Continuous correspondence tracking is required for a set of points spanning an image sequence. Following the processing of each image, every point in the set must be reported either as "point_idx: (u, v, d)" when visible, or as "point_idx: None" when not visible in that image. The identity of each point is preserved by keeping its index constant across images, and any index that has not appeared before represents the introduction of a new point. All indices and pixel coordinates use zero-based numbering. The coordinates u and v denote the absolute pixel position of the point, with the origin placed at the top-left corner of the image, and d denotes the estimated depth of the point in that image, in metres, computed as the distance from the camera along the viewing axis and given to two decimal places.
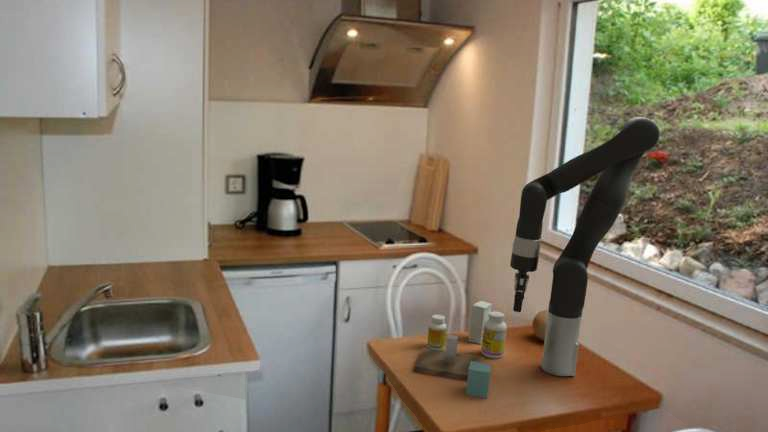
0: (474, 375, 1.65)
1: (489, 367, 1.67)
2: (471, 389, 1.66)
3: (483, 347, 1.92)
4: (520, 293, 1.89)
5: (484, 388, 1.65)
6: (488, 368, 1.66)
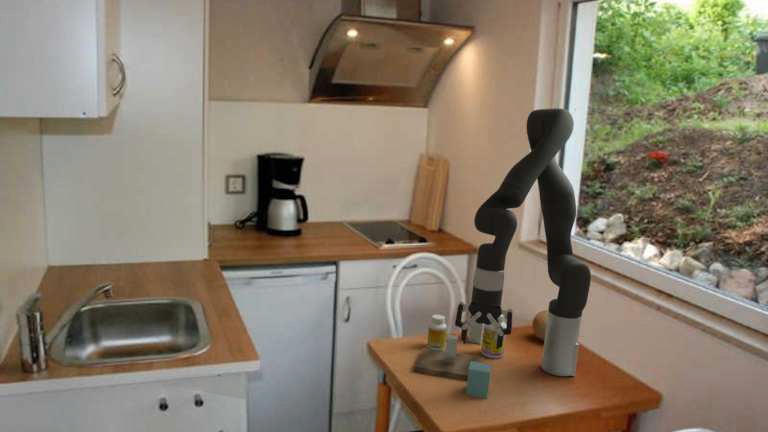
0: (474, 375, 1.65)
1: (489, 367, 1.67)
2: (471, 389, 1.66)
3: (483, 347, 1.92)
4: (467, 331, 1.67)
5: (484, 388, 1.65)
6: (488, 368, 1.66)
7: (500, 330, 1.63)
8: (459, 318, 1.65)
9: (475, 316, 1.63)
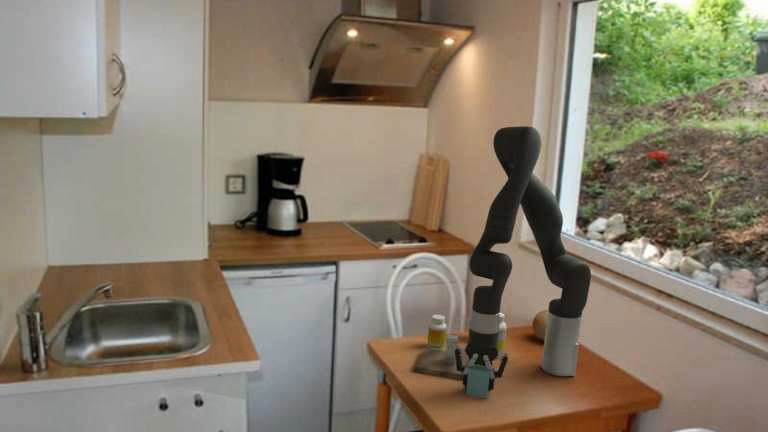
0: (474, 375, 1.65)
1: None
2: (471, 389, 1.66)
3: None
4: None
5: (484, 388, 1.65)
6: None
7: (492, 373, 1.65)
8: (459, 362, 1.67)
9: (473, 359, 1.65)
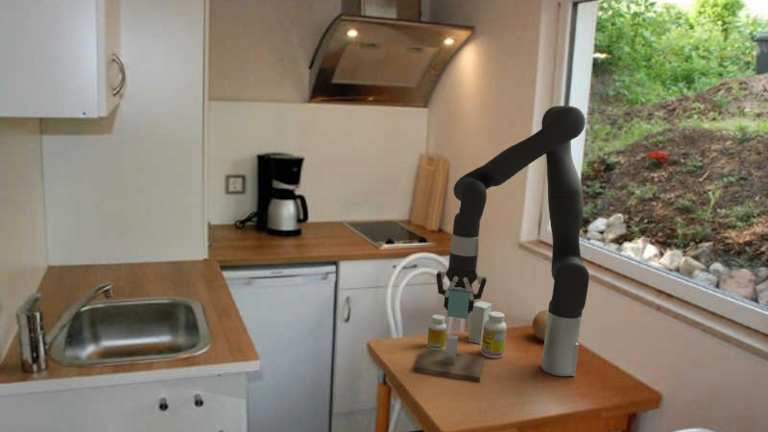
0: (455, 297, 1.74)
1: None
2: (452, 310, 1.75)
3: (483, 347, 1.92)
4: None
5: (464, 309, 1.74)
6: None
7: (471, 295, 1.75)
8: (440, 286, 1.76)
9: (453, 281, 1.75)
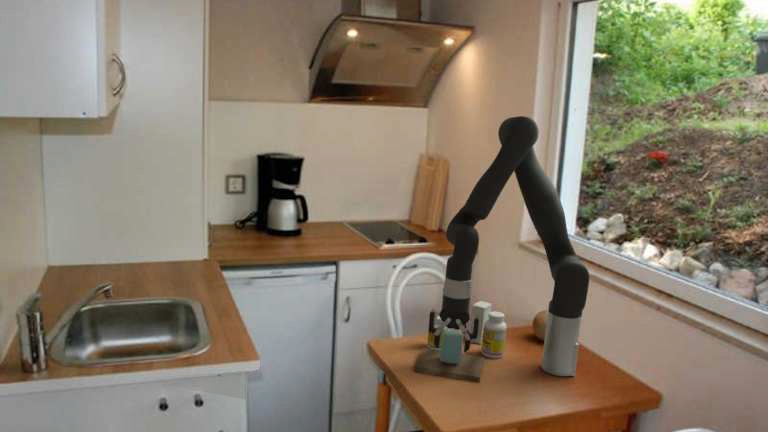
0: (447, 342, 1.79)
1: (461, 335, 1.81)
2: (444, 355, 1.80)
3: (483, 347, 1.92)
4: (439, 336, 1.82)
5: (456, 354, 1.79)
6: (460, 336, 1.80)
7: (467, 335, 1.79)
8: (432, 324, 1.81)
9: (445, 322, 1.79)
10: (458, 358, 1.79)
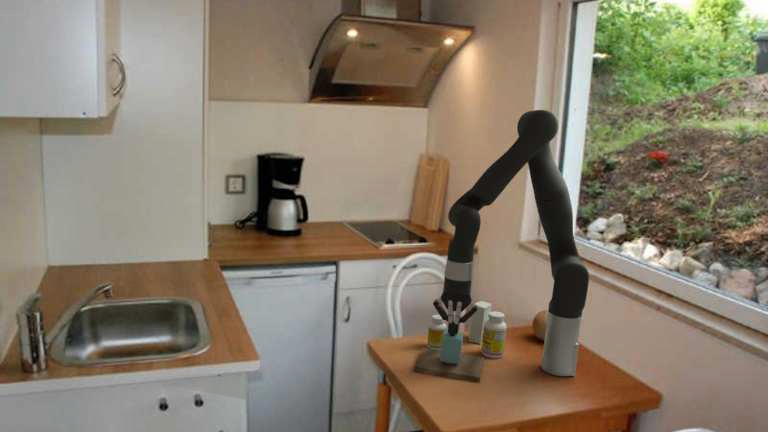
0: (447, 342, 1.79)
1: (461, 335, 1.81)
2: (444, 355, 1.80)
3: (483, 347, 1.92)
4: None
5: (456, 354, 1.79)
6: (460, 336, 1.80)
7: (457, 319, 1.79)
8: (441, 312, 1.79)
9: (449, 306, 1.78)
10: (458, 358, 1.79)
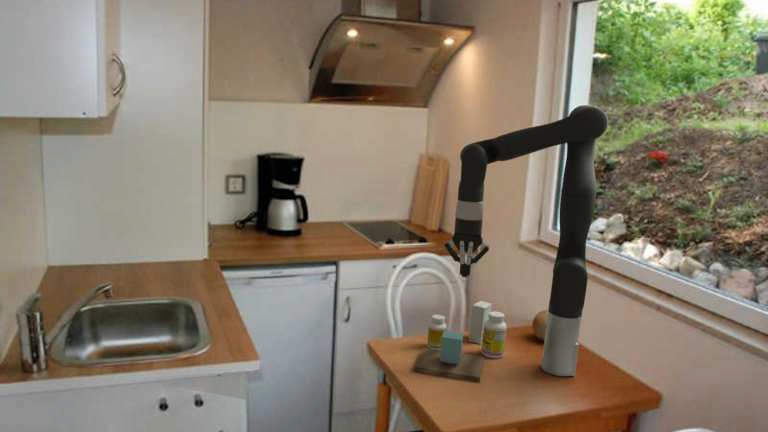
0: (447, 342, 1.79)
1: (461, 335, 1.81)
2: (444, 355, 1.80)
3: (483, 347, 1.92)
4: None
5: (456, 354, 1.79)
6: (460, 336, 1.80)
7: (469, 260, 1.80)
8: (453, 253, 1.80)
9: (461, 246, 1.79)
10: (458, 358, 1.79)
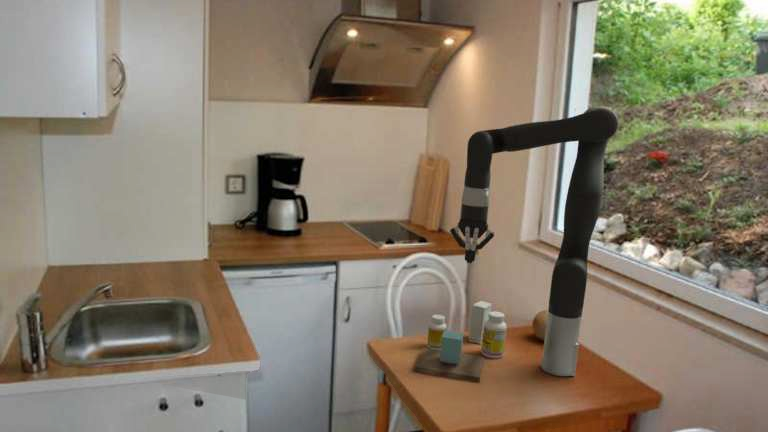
0: (447, 342, 1.79)
1: (461, 335, 1.81)
2: (444, 355, 1.80)
3: (483, 347, 1.92)
4: None
5: (456, 354, 1.79)
6: (460, 336, 1.80)
7: (474, 246, 1.82)
8: (459, 239, 1.83)
9: (467, 232, 1.81)
10: (458, 358, 1.79)
